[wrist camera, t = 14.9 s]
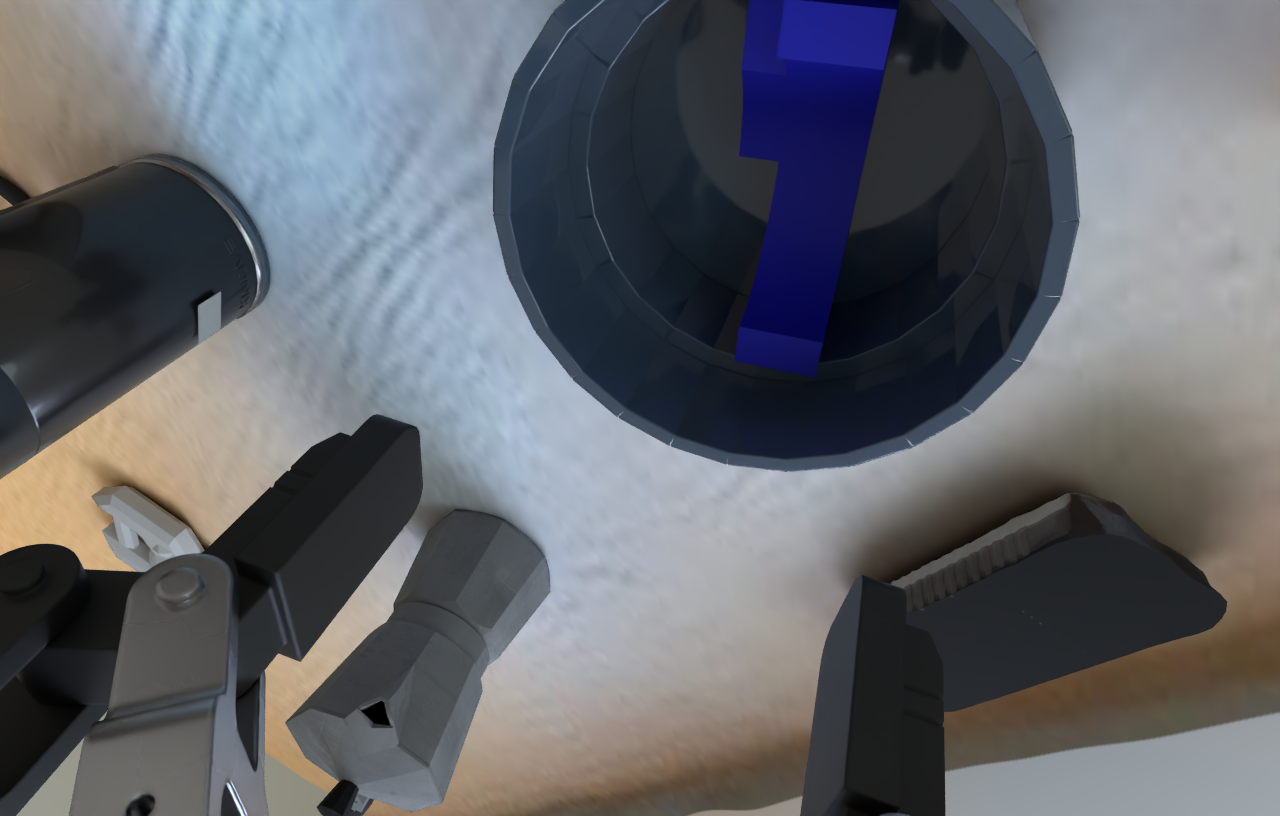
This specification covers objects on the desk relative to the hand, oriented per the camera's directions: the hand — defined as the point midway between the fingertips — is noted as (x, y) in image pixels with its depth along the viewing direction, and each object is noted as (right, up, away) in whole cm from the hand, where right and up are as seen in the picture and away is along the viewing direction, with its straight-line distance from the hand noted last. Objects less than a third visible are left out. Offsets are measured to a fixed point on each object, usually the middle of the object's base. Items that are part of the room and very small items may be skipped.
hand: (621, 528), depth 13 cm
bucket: (+7, +12, +16) cm, 21 cm away
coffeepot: (-10, -9, +39) cm, 41 cm away
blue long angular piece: (+7, +12, +16) cm, 21 cm away
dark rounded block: (+19, -7, +26) cm, 33 cm away
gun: (-37, -11, +51) cm, 64 cm away
